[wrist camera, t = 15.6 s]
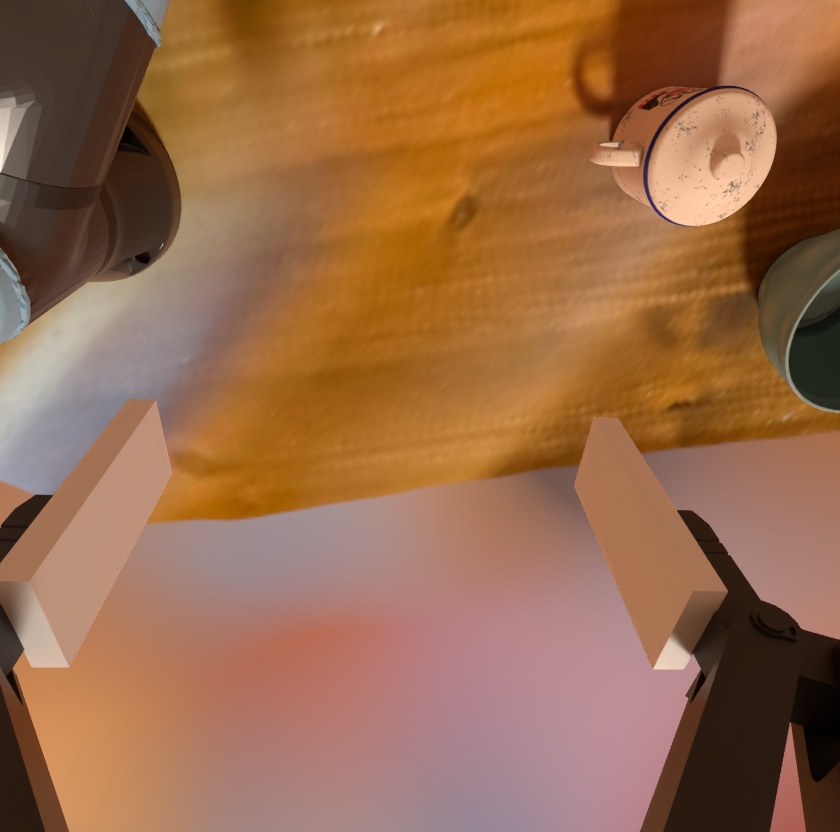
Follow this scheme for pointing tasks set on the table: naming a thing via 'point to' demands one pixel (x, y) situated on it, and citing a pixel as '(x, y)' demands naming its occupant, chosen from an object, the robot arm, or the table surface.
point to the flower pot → (805, 319)
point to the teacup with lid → (692, 151)
